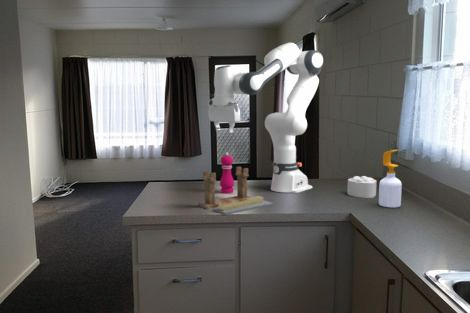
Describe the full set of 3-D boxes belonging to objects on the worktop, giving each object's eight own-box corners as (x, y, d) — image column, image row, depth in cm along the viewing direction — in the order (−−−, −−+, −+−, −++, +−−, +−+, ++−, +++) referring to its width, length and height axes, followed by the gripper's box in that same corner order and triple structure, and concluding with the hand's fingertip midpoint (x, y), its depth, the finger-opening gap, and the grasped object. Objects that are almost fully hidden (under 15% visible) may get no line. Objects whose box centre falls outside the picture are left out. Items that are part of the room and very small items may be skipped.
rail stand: (243, 197, 205) (243, 166, 203) (252, 200, 200) (252, 167, 198) (198, 205, 190) (198, 172, 188) (207, 209, 185) (207, 174, 183)
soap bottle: (390, 208, 183) (392, 151, 180) (374, 204, 191) (376, 148, 188) (405, 206, 187) (408, 149, 184) (388, 201, 195) (391, 147, 192)
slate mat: (259, 200, 198) (259, 199, 198) (272, 204, 191) (272, 202, 191) (212, 210, 183) (212, 208, 183) (225, 214, 176) (225, 212, 176)
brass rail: (258, 201, 194) (258, 195, 194) (263, 202, 192) (263, 197, 191) (218, 209, 181) (218, 203, 180) (223, 211, 179) (222, 205, 178)
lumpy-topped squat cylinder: (372, 198, 202) (372, 180, 200) (344, 195, 208) (345, 177, 207) (377, 194, 211) (378, 176, 209) (350, 191, 217) (351, 174, 216)
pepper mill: (232, 194, 212) (232, 153, 209) (218, 193, 213) (217, 153, 211) (235, 190, 219) (235, 151, 216) (221, 190, 220) (221, 151, 218)
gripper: (243, 101, 192) (243, 133, 194) (216, 101, 208) (217, 130, 210) (232, 102, 188) (232, 133, 190) (205, 101, 204) (206, 130, 206)
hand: (224, 132), depth 200 cm, fingers open, 8 cm apart
